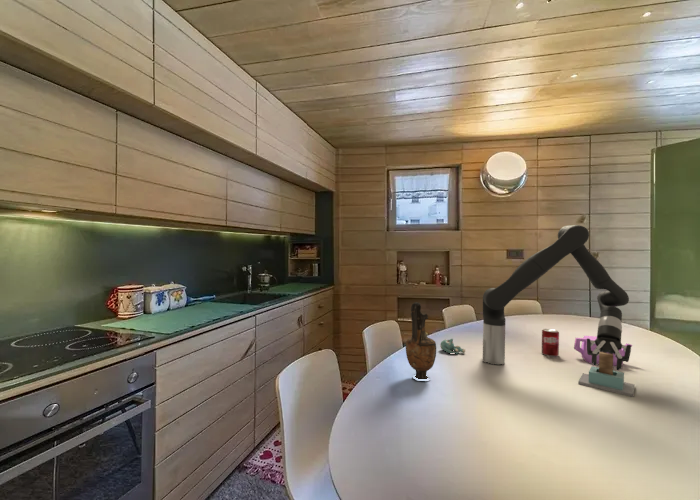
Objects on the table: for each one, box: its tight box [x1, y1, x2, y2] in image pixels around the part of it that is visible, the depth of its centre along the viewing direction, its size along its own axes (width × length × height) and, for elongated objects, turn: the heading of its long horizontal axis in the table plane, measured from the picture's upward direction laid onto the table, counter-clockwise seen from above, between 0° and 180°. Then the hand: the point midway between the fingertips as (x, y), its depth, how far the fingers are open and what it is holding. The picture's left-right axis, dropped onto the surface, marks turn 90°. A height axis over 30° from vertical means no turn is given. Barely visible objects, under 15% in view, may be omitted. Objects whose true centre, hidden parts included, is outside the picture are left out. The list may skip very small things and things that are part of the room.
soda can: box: [541, 328, 560, 358], centre depth 163 cm, size 7×7×12 cm
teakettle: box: [573, 335, 633, 367], centre depth 155 cm, size 17×17×12 cm
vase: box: [405, 301, 437, 379], centre depth 129 cm, size 12×12×30 cm
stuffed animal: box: [439, 338, 466, 354], centre depth 164 cm, size 11×7×12 cm
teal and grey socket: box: [577, 365, 636, 398], centre depth 126 cm, size 16×12×5 cm
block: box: [598, 352, 614, 375], centre depth 126 cm, size 4×2×11 cm, turn 47°
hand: (606, 366), depth 125 cm, fingers open, 6 cm apart
